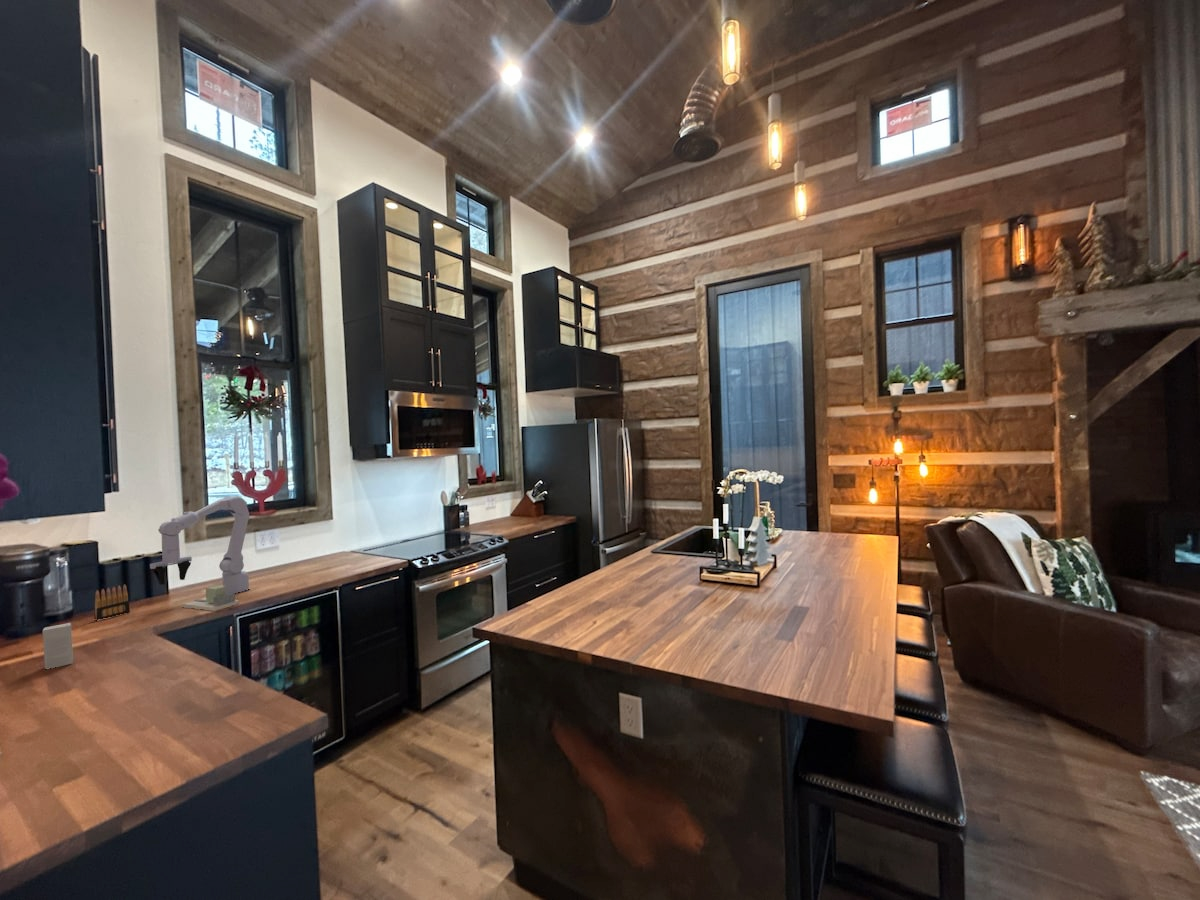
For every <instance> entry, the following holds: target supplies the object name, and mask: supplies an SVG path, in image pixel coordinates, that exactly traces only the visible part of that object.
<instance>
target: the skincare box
mask: <svg viewBox="0 0 1200 900" xmlns="http://www.w3.org/2000/svg"><path fill="white" fill-rule="evenodd" d="M42 642H43V643H42V644H43V658H44V670H45V669H47V670H51V669H55V667H56V668H59V667H63V666H64V667H65V666H67V665H73V664H74V650H73V635H72V623H71V622H67V623H63V624H58V625H52V626H51V625H50V626H46V627H44V628H43V629H42ZM50 668H51V669H50Z"/></svg>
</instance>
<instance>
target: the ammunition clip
mask: <svg viewBox="0 0 1200 900" xmlns="http://www.w3.org/2000/svg"><path fill="white" fill-rule="evenodd" d="M127 588H128V587H127V585H126V584H125V583H124V584H123V587H121V586H120V585H118V587H117V589H116V587H115V586H113V587H112V588H110V587H107V589H106V591H105V589H104V588H102V589H101V591H100V592H101V593H100V592H99V590H98V589H96V591H95V595H94V596H95V600H94V615H93V616H94V617H93V618H94V619H97V620H98V619H103V618H108V617H112V616H116V615H120V614H124V613H127V614H129V613H128V612H130V613H131V611H130V601H129V594H128V589H127ZM111 589H112V590H111ZM116 590H117V591H116ZM124 615H125V614H124ZM120 616H121V615H120ZM116 617H117V616H116ZM112 618H113V617H112ZM94 619H93V620H94ZM108 619H109V618H108Z"/></svg>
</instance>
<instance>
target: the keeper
mask: <svg viewBox="0 0 1200 900" xmlns="http://www.w3.org/2000/svg"><path fill="white" fill-rule="evenodd" d="M224 594H226V590H225V586H223V585H212V586H209V587H205V598H206V602H207V603H214V601H213V597H217V596H220V595H224Z"/></svg>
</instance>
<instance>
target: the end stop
mask: <svg viewBox="0 0 1200 900" xmlns="http://www.w3.org/2000/svg"><path fill="white" fill-rule="evenodd" d="M235 600H236V594H235V593H228V594H224V595H220V596H217V597H213V601H214V606H221V605H224V604H228V603H231V602H235Z"/></svg>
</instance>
